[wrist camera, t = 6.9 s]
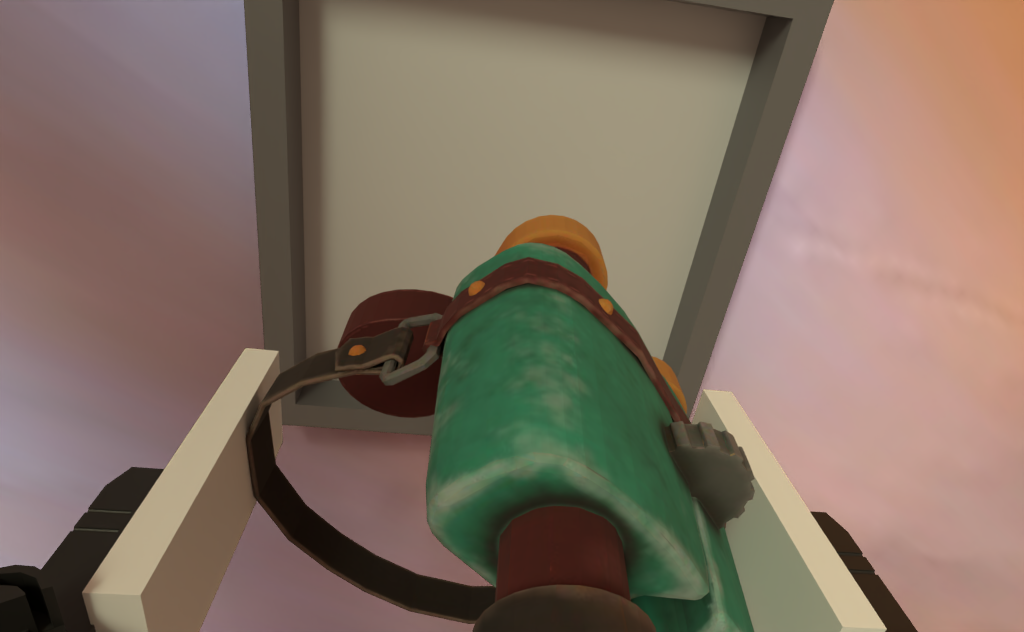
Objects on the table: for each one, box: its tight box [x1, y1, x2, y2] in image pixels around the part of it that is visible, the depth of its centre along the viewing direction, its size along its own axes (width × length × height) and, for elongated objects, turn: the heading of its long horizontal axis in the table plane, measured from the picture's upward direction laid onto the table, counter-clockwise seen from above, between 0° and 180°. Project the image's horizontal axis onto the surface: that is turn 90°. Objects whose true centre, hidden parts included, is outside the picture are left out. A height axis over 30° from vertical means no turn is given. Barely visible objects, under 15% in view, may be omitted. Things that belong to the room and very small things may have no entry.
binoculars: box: [246, 215, 755, 632], centre depth 12 cm, size 9×11×10 cm
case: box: [244, 0, 834, 436], centre depth 22 cm, size 33×19×2 cm, turn 172°
